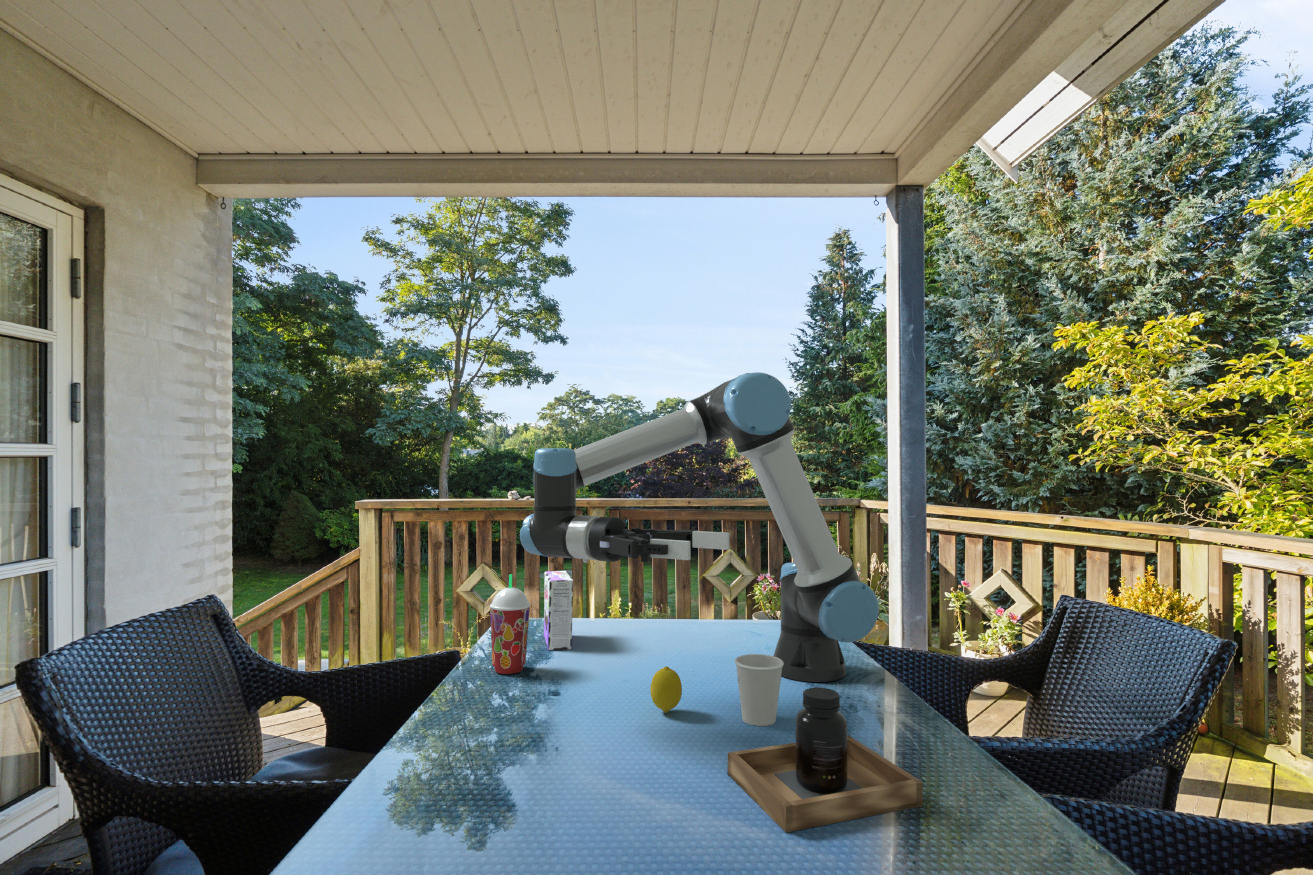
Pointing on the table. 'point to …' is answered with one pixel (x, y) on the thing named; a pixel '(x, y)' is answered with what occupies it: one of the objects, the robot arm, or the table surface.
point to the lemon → (666, 689)
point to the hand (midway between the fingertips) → (710, 545)
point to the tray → (798, 808)
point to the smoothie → (509, 629)
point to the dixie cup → (759, 687)
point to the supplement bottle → (821, 742)
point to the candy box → (558, 610)
